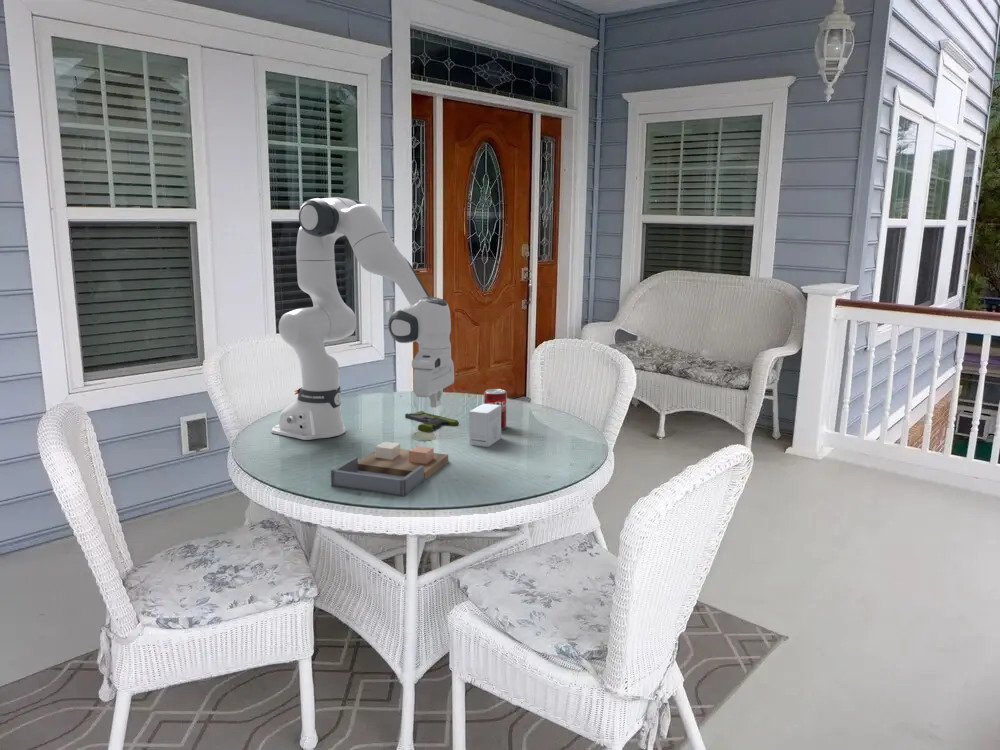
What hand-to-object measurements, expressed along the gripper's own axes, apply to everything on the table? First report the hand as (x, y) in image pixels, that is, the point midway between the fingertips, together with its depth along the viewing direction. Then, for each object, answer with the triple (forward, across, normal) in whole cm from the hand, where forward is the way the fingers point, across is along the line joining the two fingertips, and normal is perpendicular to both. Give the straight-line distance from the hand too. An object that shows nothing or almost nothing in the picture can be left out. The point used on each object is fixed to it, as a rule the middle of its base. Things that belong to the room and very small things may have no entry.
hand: (435, 406), depth 215 cm
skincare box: (+15, -20, +7) cm, 26 cm away
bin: (+15, +24, -6) cm, 29 cm away
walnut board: (+15, +10, -6) cm, 19 cm away
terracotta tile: (+13, +9, -1) cm, 16 cm away
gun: (+15, -32, -18) cm, 40 cm away
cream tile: (+13, +9, -11) cm, 19 cm away
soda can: (+15, -35, +5) cm, 39 cm away
